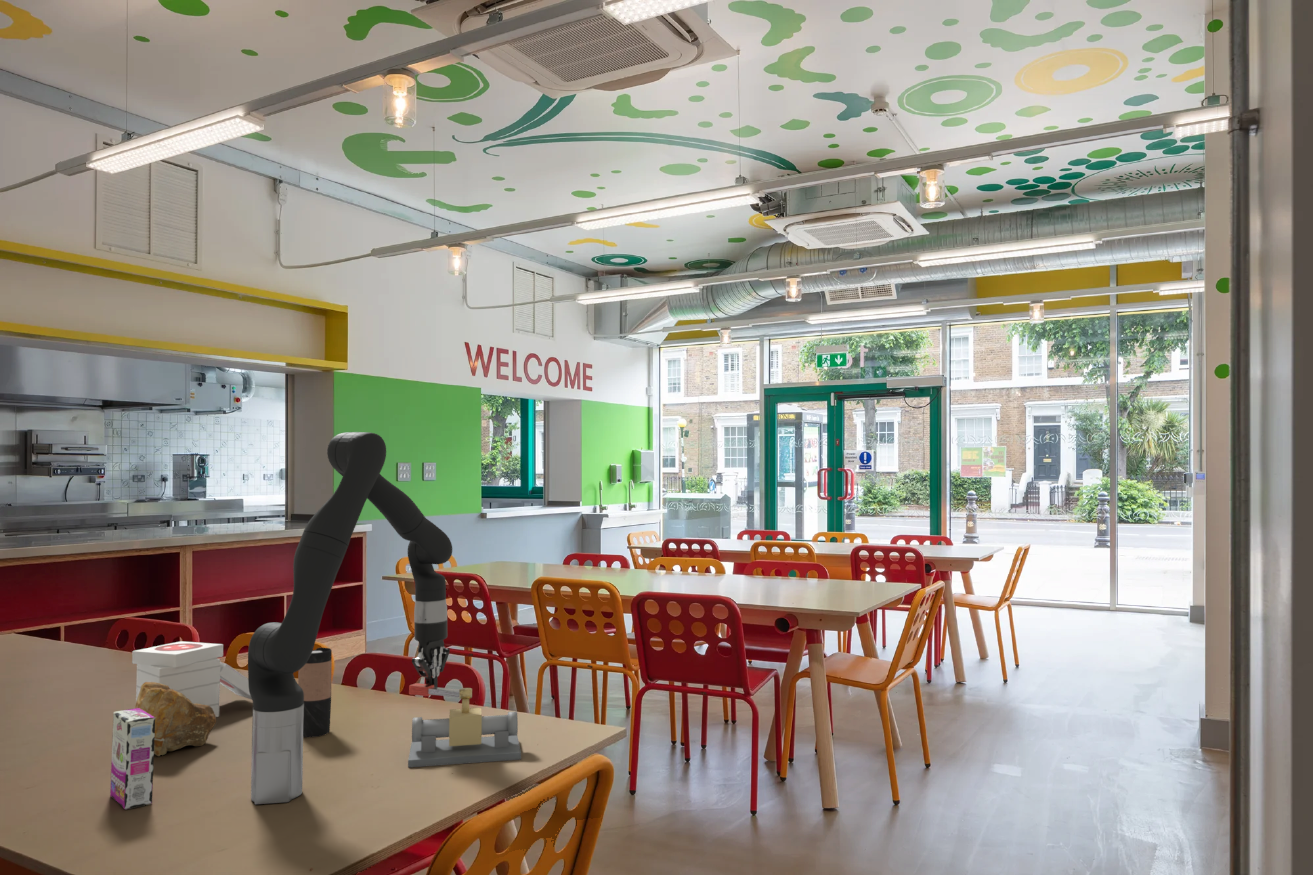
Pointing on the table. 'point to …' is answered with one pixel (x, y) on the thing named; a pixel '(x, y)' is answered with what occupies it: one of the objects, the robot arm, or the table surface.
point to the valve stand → (464, 738)
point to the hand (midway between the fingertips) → (431, 693)
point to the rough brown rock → (175, 717)
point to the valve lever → (439, 691)
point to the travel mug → (316, 692)
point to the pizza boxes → (190, 671)
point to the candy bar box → (132, 758)
